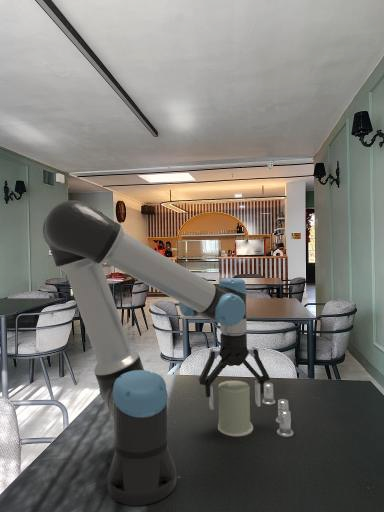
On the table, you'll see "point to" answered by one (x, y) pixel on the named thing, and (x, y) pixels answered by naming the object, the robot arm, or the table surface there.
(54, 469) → the table surface
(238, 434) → the beige flat disc
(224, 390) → the can
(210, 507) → the table surface
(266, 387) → the posts
